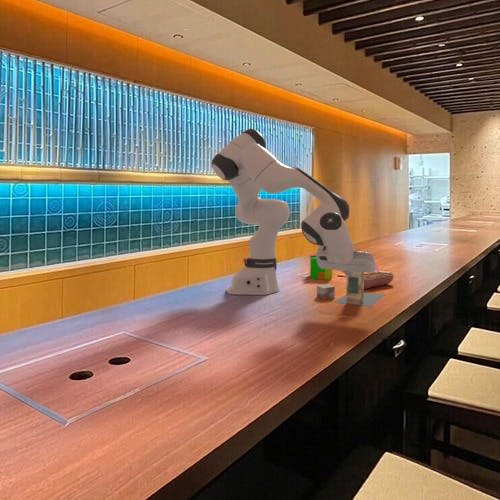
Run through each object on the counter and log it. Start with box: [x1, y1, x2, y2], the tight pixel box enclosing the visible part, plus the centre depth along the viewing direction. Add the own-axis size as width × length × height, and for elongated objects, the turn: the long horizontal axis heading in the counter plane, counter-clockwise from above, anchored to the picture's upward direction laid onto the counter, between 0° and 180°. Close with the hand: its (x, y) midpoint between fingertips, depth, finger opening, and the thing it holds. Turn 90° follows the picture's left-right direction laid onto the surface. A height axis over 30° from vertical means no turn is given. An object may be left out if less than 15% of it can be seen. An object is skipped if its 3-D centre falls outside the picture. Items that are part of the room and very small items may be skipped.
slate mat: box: [333, 292, 386, 308], centre depth 182 cm, size 22×14×1 cm, turn 150°
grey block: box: [316, 284, 336, 300], centre depth 184 cm, size 5×5×5 cm
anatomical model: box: [364, 271, 394, 290], centre depth 206 cm, size 23×10×5 cm, turn 128°
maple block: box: [346, 271, 365, 304], centre depth 175 cm, size 5×5×14 cm
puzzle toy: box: [309, 255, 333, 280], centre depth 229 cm, size 10×10×10 cm
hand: (350, 274), depth 170 cm, fingers closed
